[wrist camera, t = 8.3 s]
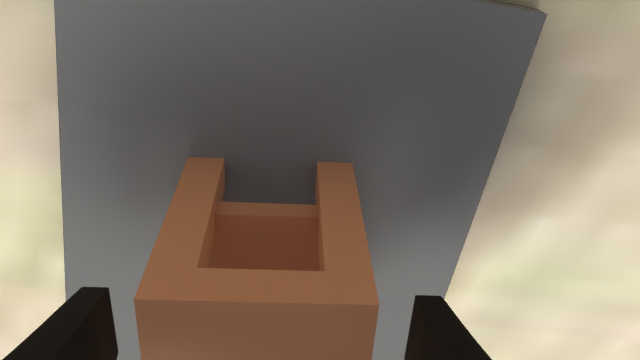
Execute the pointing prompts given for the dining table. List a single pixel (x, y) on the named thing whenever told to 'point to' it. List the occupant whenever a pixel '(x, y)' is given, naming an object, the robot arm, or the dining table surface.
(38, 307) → the dining table surface
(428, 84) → the rubber mat
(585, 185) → the dining table surface
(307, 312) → the notched tan cube
